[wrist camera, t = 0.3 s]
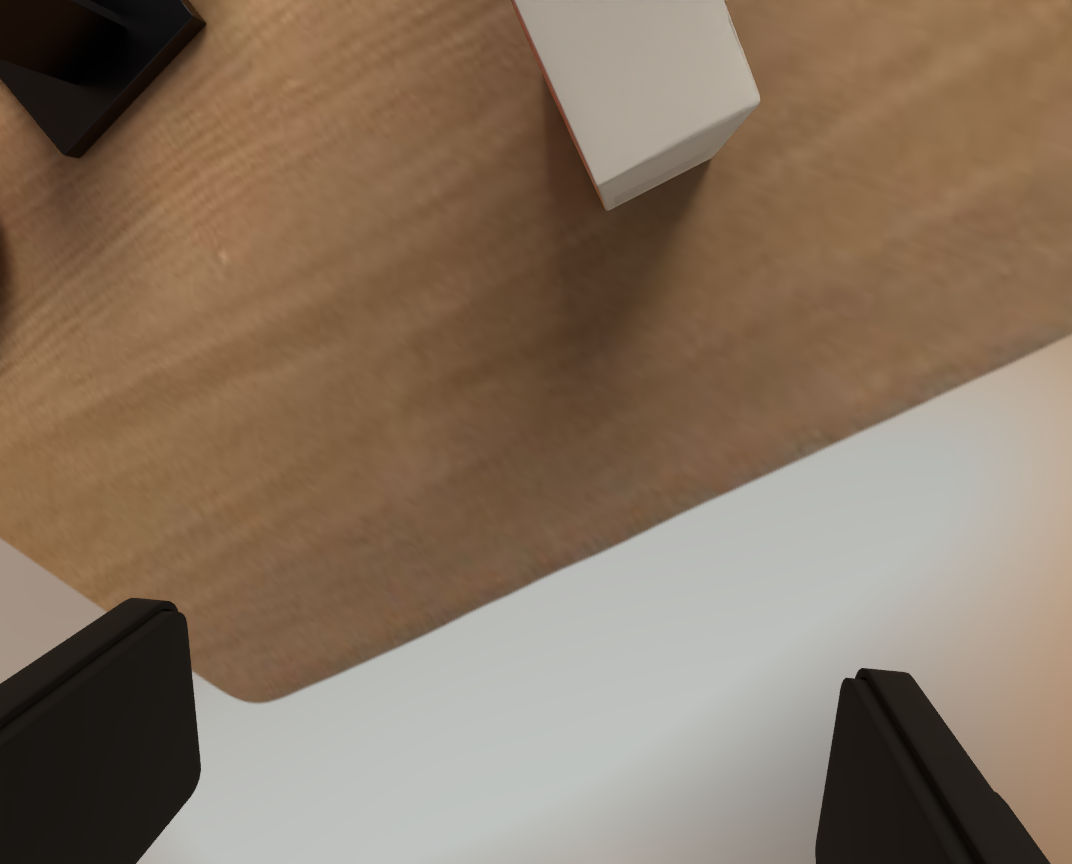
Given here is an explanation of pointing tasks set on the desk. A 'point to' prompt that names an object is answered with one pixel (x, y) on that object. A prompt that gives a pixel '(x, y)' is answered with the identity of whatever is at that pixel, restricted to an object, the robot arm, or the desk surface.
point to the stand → (88, 59)
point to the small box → (641, 84)
